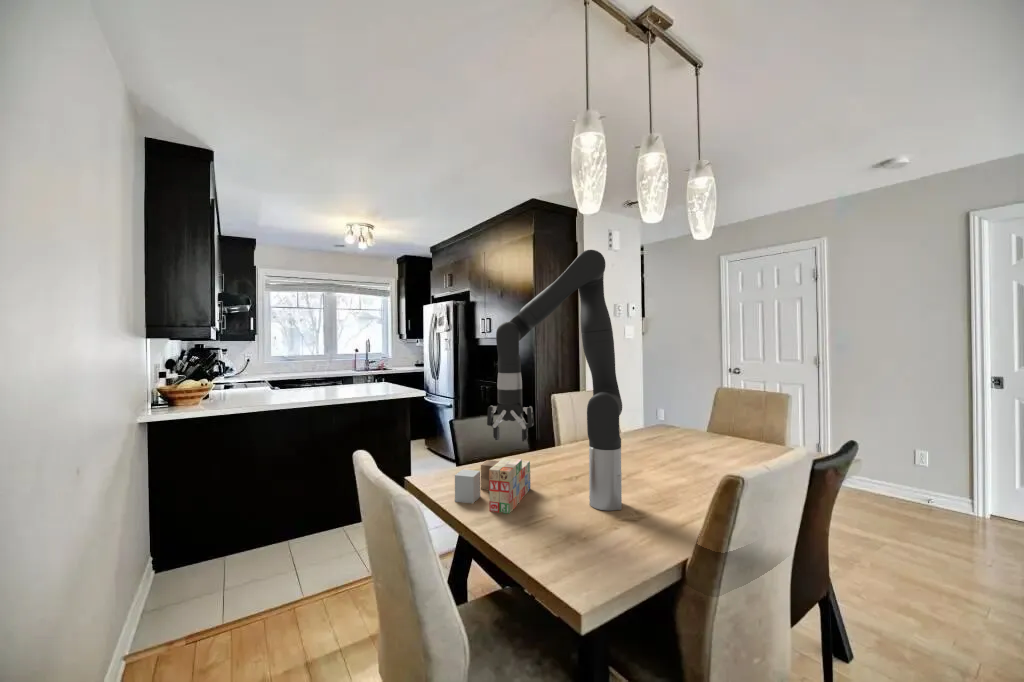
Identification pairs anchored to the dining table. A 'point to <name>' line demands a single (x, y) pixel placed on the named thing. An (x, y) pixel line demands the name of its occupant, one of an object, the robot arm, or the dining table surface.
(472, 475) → the grey rectangular block
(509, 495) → the stack of blocks
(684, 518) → the dining table surface
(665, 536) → the dining table surface
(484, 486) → the brown wooden block
